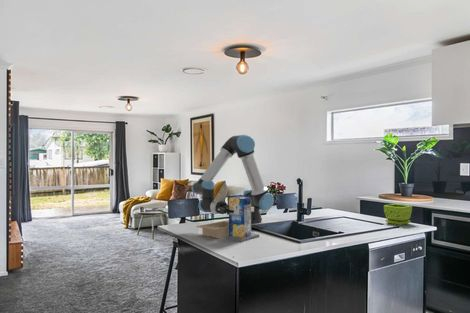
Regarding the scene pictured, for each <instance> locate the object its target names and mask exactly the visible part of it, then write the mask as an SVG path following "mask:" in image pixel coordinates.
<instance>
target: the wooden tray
mask: <svg viewBox="0 0 470 313" xmlns="http://www.w3.org/2000/svg"><path fill="white" fill-rule="evenodd" d="M196 228H199V229H200V228H201V230H202V236H205V235H206V237H210V236H211V237H212V238H215V237H216V238H215V239H220V240H221V239H226V236H228V235H229V219H225V220H219V221H216V222H211V223H207V224H206V223H205V224H201V225H197V226H196ZM211 237H210V238H211Z"/></svg>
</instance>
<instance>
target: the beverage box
mask: <svg viewBox="0 0 470 313" xmlns="http://www.w3.org/2000/svg"><path fill="white" fill-rule="evenodd" d="M228 205H229V210H230V209H239V215H238V214H230V213H229V215H228V220H229V236H235V237H242V238H246V237H249V236H251V233H252V223H251V197H243V196H235V195H234V196H230V197H229V196H228Z"/></svg>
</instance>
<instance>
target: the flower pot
mask: <svg viewBox="0 0 470 313" xmlns="http://www.w3.org/2000/svg"><path fill="white" fill-rule="evenodd" d="M383 212H384V215H385V218H386V219H385V220H384V221H385V222H386V223H388V224H391V225H396V226H402V225H407V224H410V223H411V220H410V219H411V215H412V212H413V206H412V205H407V204H399V203H398V204H397V203H391V204H385V205H383Z"/></svg>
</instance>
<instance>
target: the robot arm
mask: <svg viewBox="0 0 470 313" xmlns="http://www.w3.org/2000/svg"><path fill="white" fill-rule="evenodd" d="M255 147H256V142H255V139H254V138H253V137H252V136H250V135H248V134H240V135H232V136H231V137H230V138H228V139H227V140H226V141H225V142H224V143H223V145H222V146H221V147H220V151H219V153H218V154H217V155H216V157H215V158H214V159H213V161H212V162H211V163H210V164H209V166H208V167H207V169H206V170H205V171H204V172H203V174H202V175H201V177H200V178H199V179H198V181H197V182H194V183H193V184H192V185H191V187H190V188H191V192H192V193H193V194H196V195H199V196H200V195H201V200H199V202H198V206H197V207H198V209H199V210H200V211H201V212H205V213H211V214H215V215H217V214H220V215H224V214H226V215H228V216H229V213H230V214H238V215H239V209H230V210H229V204H228V203H227V202H226V201H222V200H215V183H214V181H213V180H214V179H215V177H217V175H218V174H219V172H220V171H221V170H222V168H223V167H224V166H225V164H226V162H228V160H229V159H230V158H232V157H233V156H234V155H235V154H236V155H237V157H238V158H239V159H240V160H241V162H242V167H243V169H244V170H245V175H246V177H247V179H248V183H249V185H250V188H251V189H248V190H247V189H246V190H244V191H243V195H242V197H251V224H259V223H258V222H260V223H262V222H263V218H262V215H261V211H260V210H262V211H269V210H270V209H271V208H272V207H273V205H274V204H275V198H274V196H273V194H271V193H270V192H269V189H268V188H267V187H266V186H265V185H264V182H263V178H262V176H261V173H260V171H259V168H258V165H257V161H256V159H255V157H254V154H255ZM261 221H262V222H261Z"/></svg>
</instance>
